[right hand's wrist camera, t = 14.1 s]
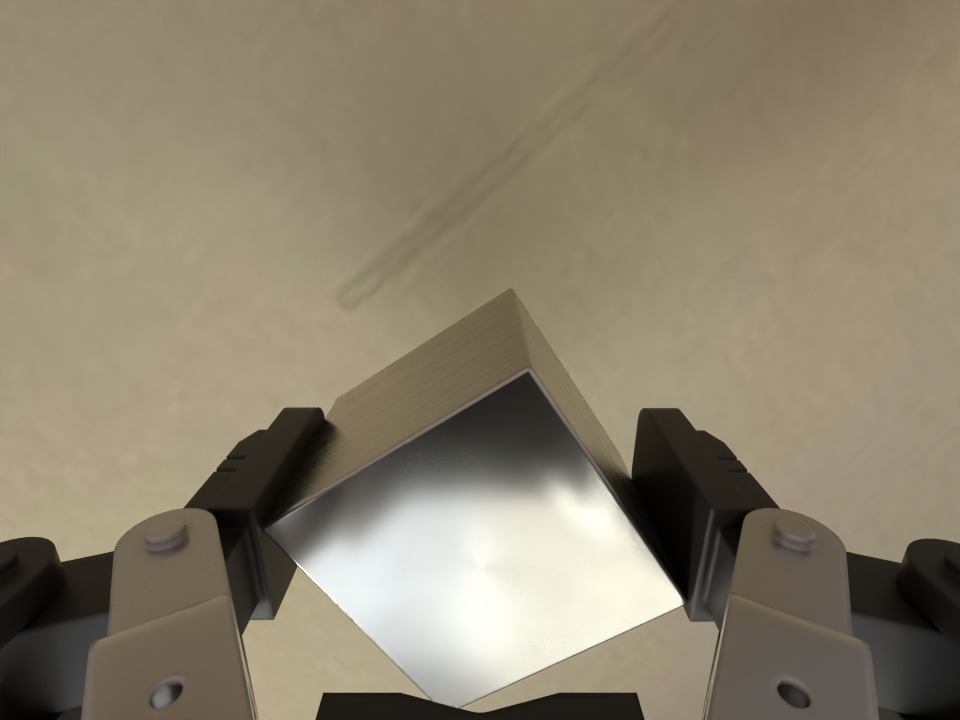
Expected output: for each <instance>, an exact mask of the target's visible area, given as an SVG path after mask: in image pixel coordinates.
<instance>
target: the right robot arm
mask: <svg viewBox="0 0 960 720" xmlns="http://www.w3.org/2000/svg"><path fill="white" fill-rule="evenodd" d="M324 420H325V417H324V413H323V411H322V409H321V408H284V409H283V410H282V411H281V413H280V414H279V415H278V416H277V418H276V419H275V420H274V422H273V423H272V424H271V426H270V427H269V428H268V429H267V430H258V431H256V432H255V433H253V434H251V435H250V436H248V437H247V438H245V439H243V440H242V441H240V442H239V443H238V444H237V445H236V446H235V447H234V449H233V450H232V451H231V452H230V453H229V455H228V456H227V460H224V461H223V462H222V463H221V464H220V465H219V466H218V468H217V471H216V472H213V474H212V475H211V476H210V477H209V478H208V480H207V481H206V482H205V483H204V484H203V486H202V487H201V488H200V489H199V490H198V491H197V493H196V494H195V495H194V496H193V497H192V499H191V500H190V501H189V502H188V503H187V505H186V506H185V507H184V508H183V509H176V510H171V511H167V512H164V513H160V514H157V515H155V516H153V517H150V518H148V519H146V520H144V521H142V522H140V523H139V524H137V525H135V526H134V527H133V528H131V529H130V530H129V531H127V532H126V533H125V534H124V535H123V536H122V537H121V539H120V540H119V541H118V543H117V544H116V546H115V550H114V551H113V552H108V553H104V554H99V555H94V556H89V557H84V558H79V559H75V560H70V561H65V562H61V561H60V559H59V556H58V553H57V550H56V548H55V545H54V544H53V542H51V541H50V540H48V539H45V538H40V537H25V538H17V539H12V540H8V541H4V542H1V543H0V720H259V717H258V712H257V707H256V702H255V697H254V692H253V687H252V682H251V677H250V672H249V667H248V662H247V657H246V652H245V647H244V643H243V638H242V634H243V632H244V630H245V628H246V626H247V624H248V622H249V620H274V618H275V616H276V614H277V611H278V609H279V607H280V605H281V602H282V600H283V598H284V596H285V593H286V591H287V589H288V587H289V584H290V582H291V580H292V578H293V575H294V573H295V571H296V569H297V565H296V564H295V563H294V562H293V561H292V560H291V559H290V558H289V557H288V556H287V555H286V554H285V553H284V552H283V551H282V550H281V549H280V548H279V547H278V546H277V545H276V543H275V542H274V541H273V540H272V539H271V538H270V537H269V536H268V535H267V534H266V533H265V532H264V531H263V523H264V521H265V519H266V518H267V516H268V514H269V513H270V511H271V509H272V508H273V506H274V504H275V503H276V501H277V499H278V497H279V496H280V494H281V492H282V491H283V489H284V487H285V486H286V484H287V482H288V481H289V479H290V477H291V476H292V474H293V472H294V470H295V469H296V467H297V465H298V464H299V462H300V460H301V459H302V457H303V455H304V454H305V452H306V450H307V449H308V447H309V445H310V444H311V442H312V440H313V438H314V437H315V435H316V433H317V432H318V430H319V428H320V427H321V425H322V423H323V422H324ZM632 481H633V483H634V485H635V488H636V490H637V492H638V494H639V496H640V498H641V500H642V503H643V505H644V507H645V509H646V511H647V513H648V515H649V518H650V520H651V522H652V524H653V526H654V528H655V530H656V532H657V535H658V537H659V539H660V541H661V543H662V545H663V547H664V550H665V552H666V554H667V556H668V558H669V560H670V562H671V565H672V567H673V569H674V571H675V573H676V575H677V577H678V579H679V582H680V584H681V586H682V588H683V590H684V592H685V594H686V597H687V604H686V605H684V606H683V607H684V609H685V611H686V613H687V616H688V618H689V620H690V621H715V623H716V625H717V627H718V629H719V634H718V638H717V643H716V647H715V652H714V657H713V662H712V667H711V672H710V677H709V682H708V687H707V692H706V697H705V702H704V707H703V712H702V717H701V720H960V544H959V543H955V542H951V541H946V540H940V539H919V540H916V541H913V542H912V543H910V544H909V546H908V547H907V550H906V552H905V555H904V558H903V560H902V563H897V562H893V561H888V560H883V559H878V558H873V557H869V556H864V555H859V554H854V553H850V552H846V549H845V546H844V544H843V543H842V541H841V540H840V539H839V537H838V536H837V535H836V534H835V533H834V532H833V531H831V530H830V529H829V528H827V527H826V526H825V525H823V524H821V523H820V522H818V521H816V520H814V519H812V518H810V517H807V516H805V515H803V514H800V513H796V512H793V511H789V510H784V509H780V508H779V507H778V505H777V504H776V503H775V502H774V501H773V500H772V498H771V497H770V496H769V495H768V494H767V492H766V491H765V490H764V489H763V488H762V487H761V485H760V484H759V483H758V482H757V481H756V480H755V478H754V477H753V476H752V475H751V474H750V473H747V469H746V468H745V467H744V465H743V464H742V463H741V462H740V461H739V460H737V457H736V456H735V455H734V454H733V452H732V451H731V450H730V449H729V448H728V447H727V445H726V444H725V443H724V442H722V441H720V440H719V439H717V438H715V437H714V436H712V435H711V434H709V433H707V432H706V431H696V430H695V428H694V427H693V426H692V425H691V423H690V422H689V421H688V419H687V418H686V417H685V416H684V414H683V413H682V412H681V411H680V410H679V409H678V408H643V409H642V410H641V411H640V414H639V417H638V424H637V432H636V440H635V449H634V457H633V465H632ZM316 720H644V716H643V713H642V710H641V706H640V703H639V699H638V696H637V693H557V694H553V695H549V696H546V697H542V698H538V699H534V700H531V701H527V702H523V703H519V704H516V705H512V706H508V707H504V708H501V709H497V710H493V711H489V712H484V713H476V712H471V711H467V710H463V709H459V708H456V707H452V706H448V705H444V704H441V703H437V702H433V701H429V700H426V699H422V698H418V697H414V696H411V695H407V694H403V693H323V696H322V699H321V703H320V706H319V710H318V713H317V716H316Z"/></svg>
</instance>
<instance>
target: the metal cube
mask: <svg viewBox="0 0 960 720" xmlns="http://www.w3.org/2000/svg"><path fill="white" fill-rule="evenodd" d="M263 531H264V532H265V533H266V534H267V535H268V536H269V537H270V538H271V539H272V540H273V541H274V542H275V543H276V545H277V546H278V547H279V548H280V549H281V550H282V551H283V552H284V553H285V554H286V555H287V556H288V557H289V558H290V559H291V560H292V561H293V562H294V563H295V564H296V565H297V566H298V567H299V568H300V569H301V570H302V571H303V572H304V573H305V574H306V575H307V576H308V577H309V578H310V579H311V580H312V581H313V582H314V583H315V584H316V585H317V586H318V587H319V588H320V589H321V590H322V591H323V592H324V593H325V594H326V595H327V596H328V597H329V598H330V599H331V600H332V601H333V602H334V603H335V604H336V605H337V606H338V607H339V608H340V609H341V610H342V611H343V612H344V613H345V614H346V615H347V616H348V617H349V618H350V619H351V620H352V621H353V622H354V623H355V624H356V625H357V626H358V627H359V628H360V629H361V630H362V631H363V632H364V633H365V634H366V635H367V636H368V637H369V638H370V639H371V640H372V641H373V642H374V644H375V645H376V646H377V647H378V648H379V649H380V650H381V651H382V652H383V653H384V654H385V655H386V656H387V657H388V658H389V659H390V660H391V661H392V662H393V663H394V664H395V665H396V666H397V667H398V668H399V669H400V670H401V671H402V672H403V673H404V674H405V675H406V676H407V677H408V678H409V679H410V680H411V681H412V682H413V683H414V684H415V685H416V686H417V687H418V688H419V689H420V690H421V691H422V692H423V693H424V694H425V695H426V696H427V697H428V698H429V699H430V700H431V701H433V702H437V703H441V704H444V705H448V706H452V707H456V708H461V707H463V706H466V705H468V704H470V703H472V702H474V701H477V700H479V699H481V698H483V697H485V696H487V695H490V694H492V693H494V692H496V691H498V690H501V689H503V688H505V687H507V686H509V685H511V684H514V683H516V682H518V681H520V680H522V679H525V678H527V677H529V676H531V675H533V674H535V673H538V672H540V671H542V670H544V669H546V668H549V667H551V666H553V665H555V664H557V663H559V662H562V661H564V660H566V659H568V658H570V657H573V656H575V655H577V654H579V653H581V652H583V651H586V650H588V649H590V648H592V647H594V646H597V645H599V644H601V643H603V642H605V641H607V640H610V639H612V638H614V637H616V636H618V635H621V634H623V633H625V632H627V631H629V630H631V629H634V628H636V627H638V626H640V625H642V624H645V623H647V622H649V621H651V620H653V619H655V618H658V617H660V616H662V615H664V614H666V613H669V612H671V611H673V610H675V609H677V608H679V607H682V606H684V605H686V604H687V597H686V594H685V592H684V590H683V588H682V586H681V584H680V582H679V579H678V577H677V575H676V573H675V571H674V569H673V567H672V565H671V562H670V560H669V558H668V556H667V554H666V552H665V550H664V547H663V545H662V543H661V541H660V539H659V537H658V535H657V532H656V530H655V528H654V526H653V524H652V522H651V520H650V518H649V515H648V513H647V511H646V509H645V507H644V505H643V503H642V500H641V498H640V496H639V494H638V492H637V490H636V488H635V485H634V483H633V481H632V479H631V476H630V474H629V472H628V470H627V468H626V466H625V464H624V461H623V459H622V457H621V455H620V453H619V452H618V450H617V449H616V447H615V446H614V444H613V442H612V441H611V439H610V438H609V436H608V435H607V433H606V432H605V430H604V429H603V427H602V425H601V424H600V422H599V421H598V419H597V418H596V416H595V415H594V413H593V412H592V410H591V408H590V407H589V405H588V404H587V402H586V401H585V399H584V398H583V396H582V395H581V393H580V391H579V390H578V388H577V387H576V385H575V384H574V382H573V381H572V379H571V378H570V376H569V375H568V373H567V371H566V370H565V368H564V367H563V365H562V364H561V362H560V361H559V359H558V358H557V356H556V354H555V353H554V351H553V350H552V348H551V347H550V345H549V344H548V342H547V341H546V339H545V337H544V336H543V334H542V333H541V331H540V330H539V328H538V327H537V325H536V324H535V322H534V320H533V319H532V317H531V316H530V314H529V313H528V311H527V310H526V308H525V307H524V305H523V303H522V302H521V300H520V299H519V297H518V296H517V294H516V293H515V291H514V290H513V289H508V290H507V291H505V292H504V293H502V294H501V295H499V296H497V297H496V298H494V299H493V300H491V301H490V302H488V303H486V304H485V305H483V306H482V307H480V308H479V309H477V310H475V311H474V312H472V313H471V314H469V315H468V316H466V317H464V318H463V319H461V320H460V321H458V322H457V323H455V324H453V325H452V326H450V327H449V328H447V329H446V330H444V331H442V332H441V333H439V334H438V335H436V336H435V337H433V338H432V339H430V340H428V341H427V342H425V343H424V344H422V345H421V346H419V347H417V348H416V349H414V350H413V351H411V352H410V353H408V354H406V355H405V356H403V357H402V358H400V359H399V360H397V361H395V362H394V363H392V364H391V365H389V366H388V367H386V368H384V369H383V370H381V371H380V372H378V373H377V374H375V375H373V376H372V377H370V378H369V379H367V380H366V381H364V382H362V383H361V384H359V385H358V386H356V387H355V388H353V389H351V390H350V391H348V392H347V393H345V394H344V395H342V396H341V397H339V398H337V400H336V401H335V403H334V405H333V406H332V408H331V410H330V411H329V413H328V415H327V416H326V418H325V420H324V422H323V423H322V425H321V427H320V428H319V430H318V432H317V433H316V435H315V437H314V438H313V440H312V442H311V444H310V445H309V447H308V449H307V450H306V452H305V454H304V455H303V457H302V459H301V460H300V462H299V464H298V465H297V467H296V469H295V470H294V472H293V474H292V476H291V477H290V479H289V481H288V482H287V484H286V486H285V487H284V489H283V491H282V492H281V494H280V496H279V497H278V499H277V501H276V503H275V504H274V506H273V508H272V509H271V511H270V513H269V514H268V516H267V518H266V519H265V521H264V523H263Z"/></svg>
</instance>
